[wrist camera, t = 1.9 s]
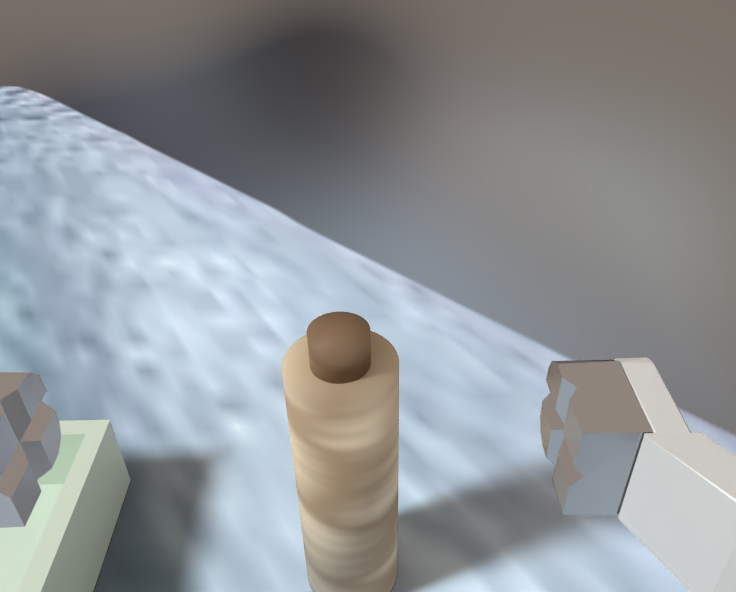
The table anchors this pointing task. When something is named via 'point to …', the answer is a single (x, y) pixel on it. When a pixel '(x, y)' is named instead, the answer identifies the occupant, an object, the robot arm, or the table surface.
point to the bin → (69, 515)
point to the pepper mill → (345, 452)
